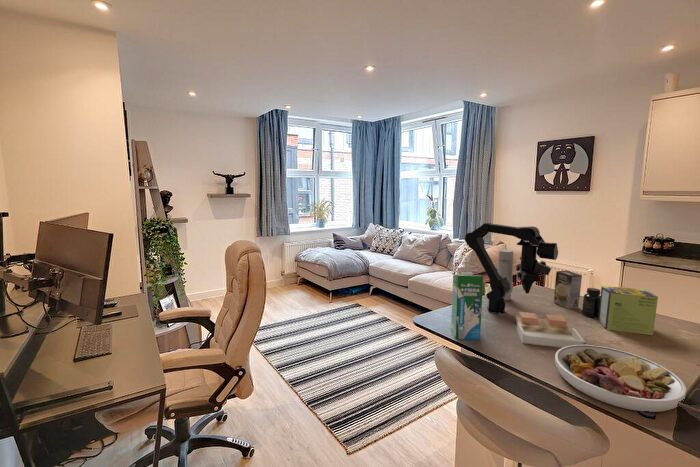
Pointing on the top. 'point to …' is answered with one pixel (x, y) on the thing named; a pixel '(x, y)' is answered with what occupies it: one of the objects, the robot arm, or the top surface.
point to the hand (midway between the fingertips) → (526, 291)
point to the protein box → (627, 310)
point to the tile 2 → (556, 320)
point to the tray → (549, 338)
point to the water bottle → (506, 268)
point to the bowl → (620, 378)
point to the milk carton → (467, 306)
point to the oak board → (544, 327)
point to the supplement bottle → (591, 303)
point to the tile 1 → (528, 318)
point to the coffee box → (567, 289)
